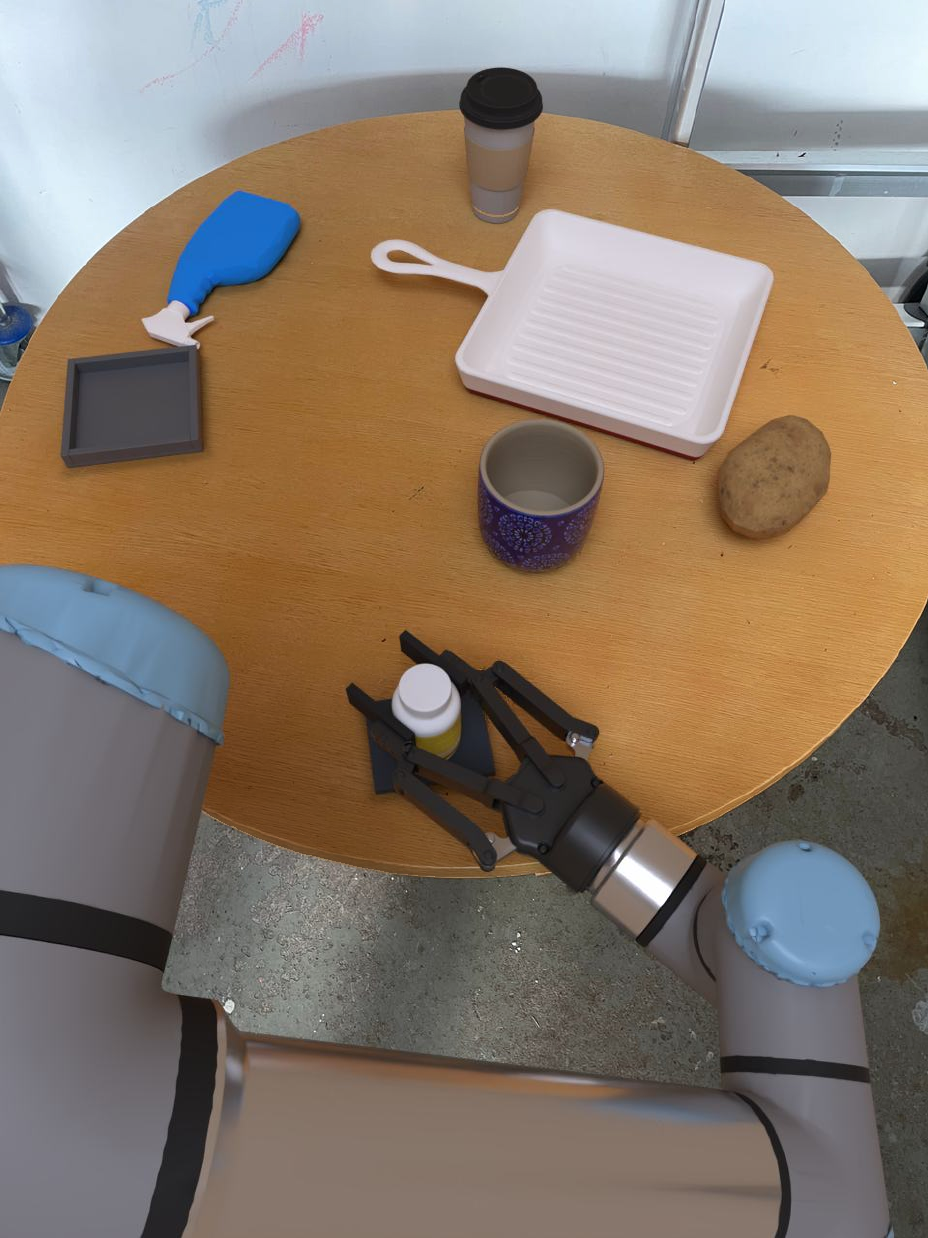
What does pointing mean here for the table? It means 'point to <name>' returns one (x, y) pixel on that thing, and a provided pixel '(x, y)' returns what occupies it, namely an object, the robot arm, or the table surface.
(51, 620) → the robot arm
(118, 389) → the dark gray tray
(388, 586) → the table surface
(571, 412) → the pan
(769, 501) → the potato
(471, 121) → the coffee cup
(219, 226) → the spray bottle
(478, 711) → the slate mat
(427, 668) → the supplement bottle
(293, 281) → the table surface
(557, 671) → the table surface
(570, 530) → the planter
